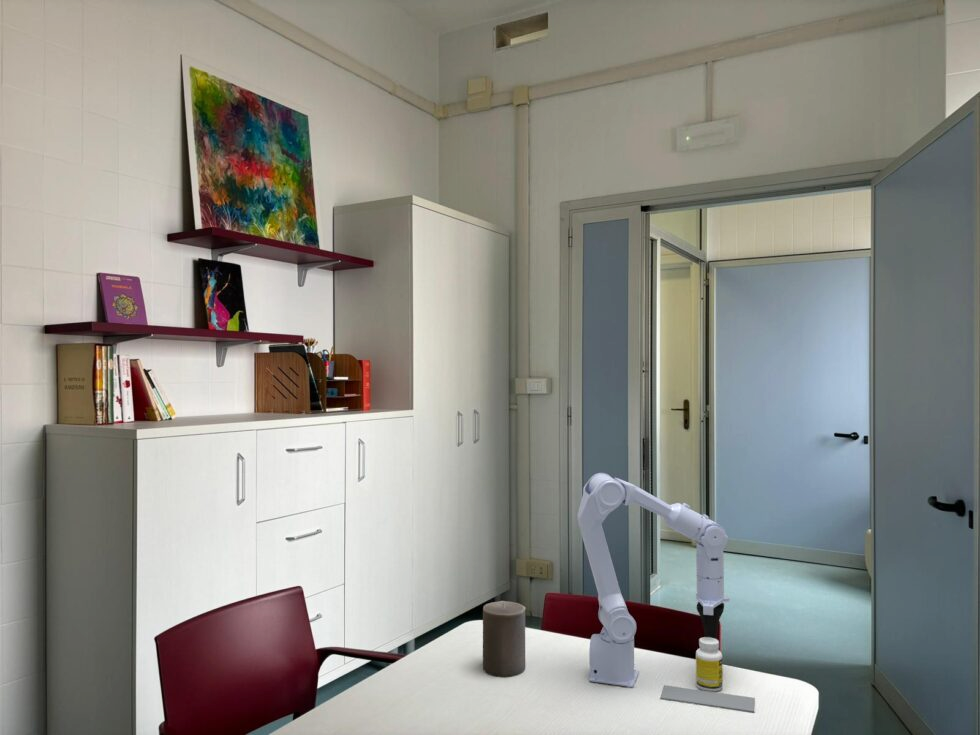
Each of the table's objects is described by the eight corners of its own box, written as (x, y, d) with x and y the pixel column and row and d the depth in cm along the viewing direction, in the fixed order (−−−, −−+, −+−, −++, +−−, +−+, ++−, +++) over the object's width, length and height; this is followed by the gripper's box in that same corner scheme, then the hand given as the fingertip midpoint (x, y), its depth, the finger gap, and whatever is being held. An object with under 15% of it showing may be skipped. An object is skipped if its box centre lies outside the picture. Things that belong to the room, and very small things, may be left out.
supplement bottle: (724, 693, 149) (723, 646, 149) (697, 691, 150) (696, 644, 150) (721, 682, 154) (720, 636, 154) (695, 680, 155) (694, 634, 155)
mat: (660, 698, 147) (660, 697, 147) (663, 686, 152) (663, 685, 152) (754, 712, 141) (754, 711, 141) (754, 699, 146) (754, 697, 146)
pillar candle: (488, 679, 157) (488, 610, 157) (478, 661, 167) (478, 596, 167) (531, 675, 159) (530, 607, 159) (519, 657, 169) (519, 593, 169)
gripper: (727, 586, 150) (728, 652, 150) (730, 568, 164) (731, 627, 164) (692, 583, 153) (693, 647, 153) (698, 565, 166) (699, 624, 166)
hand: (710, 637), depth 158 cm, fingers closed
